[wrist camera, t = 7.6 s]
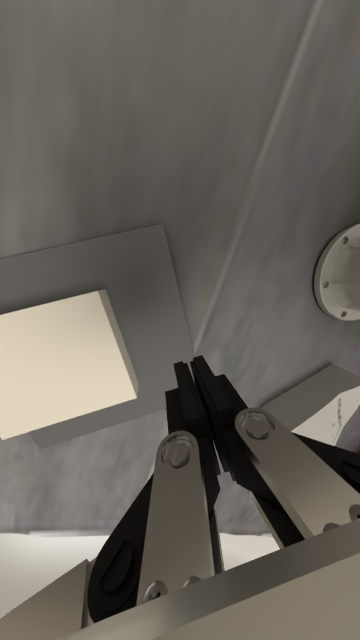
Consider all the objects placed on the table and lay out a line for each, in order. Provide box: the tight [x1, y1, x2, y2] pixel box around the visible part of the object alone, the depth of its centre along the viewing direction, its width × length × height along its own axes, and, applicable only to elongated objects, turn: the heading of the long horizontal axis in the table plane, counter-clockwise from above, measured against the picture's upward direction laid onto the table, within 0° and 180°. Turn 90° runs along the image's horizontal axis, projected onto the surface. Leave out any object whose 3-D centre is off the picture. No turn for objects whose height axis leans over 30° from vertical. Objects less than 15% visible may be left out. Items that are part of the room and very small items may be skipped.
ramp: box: [260, 364, 360, 446], centre depth 27 cm, size 28×16×5 cm, turn 159°
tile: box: [0, 289, 139, 440], centre depth 18 cm, size 3×12×14 cm
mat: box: [0, 223, 195, 449], centre depth 20 cm, size 22×22×1 cm
